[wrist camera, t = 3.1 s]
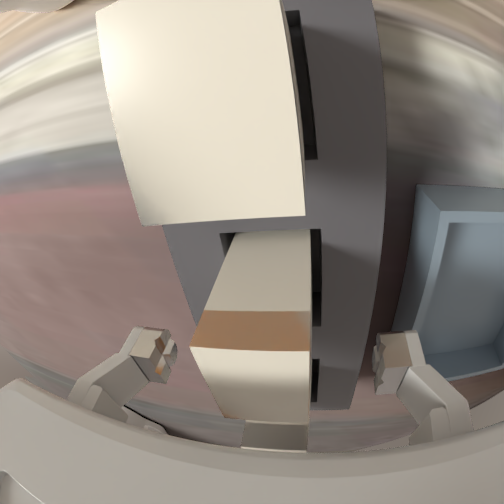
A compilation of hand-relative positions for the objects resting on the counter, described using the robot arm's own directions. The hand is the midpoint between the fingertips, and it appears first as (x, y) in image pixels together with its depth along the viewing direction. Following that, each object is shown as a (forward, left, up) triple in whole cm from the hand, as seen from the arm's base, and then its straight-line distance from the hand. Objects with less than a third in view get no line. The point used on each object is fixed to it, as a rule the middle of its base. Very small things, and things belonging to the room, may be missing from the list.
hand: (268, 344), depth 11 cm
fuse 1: (+9, 0, -7) cm, 11 cm away
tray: (-4, -14, -8) cm, 17 cm away
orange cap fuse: (0, 0, -7) cm, 7 cm away
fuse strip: (0, 0, -8) cm, 8 cm away
